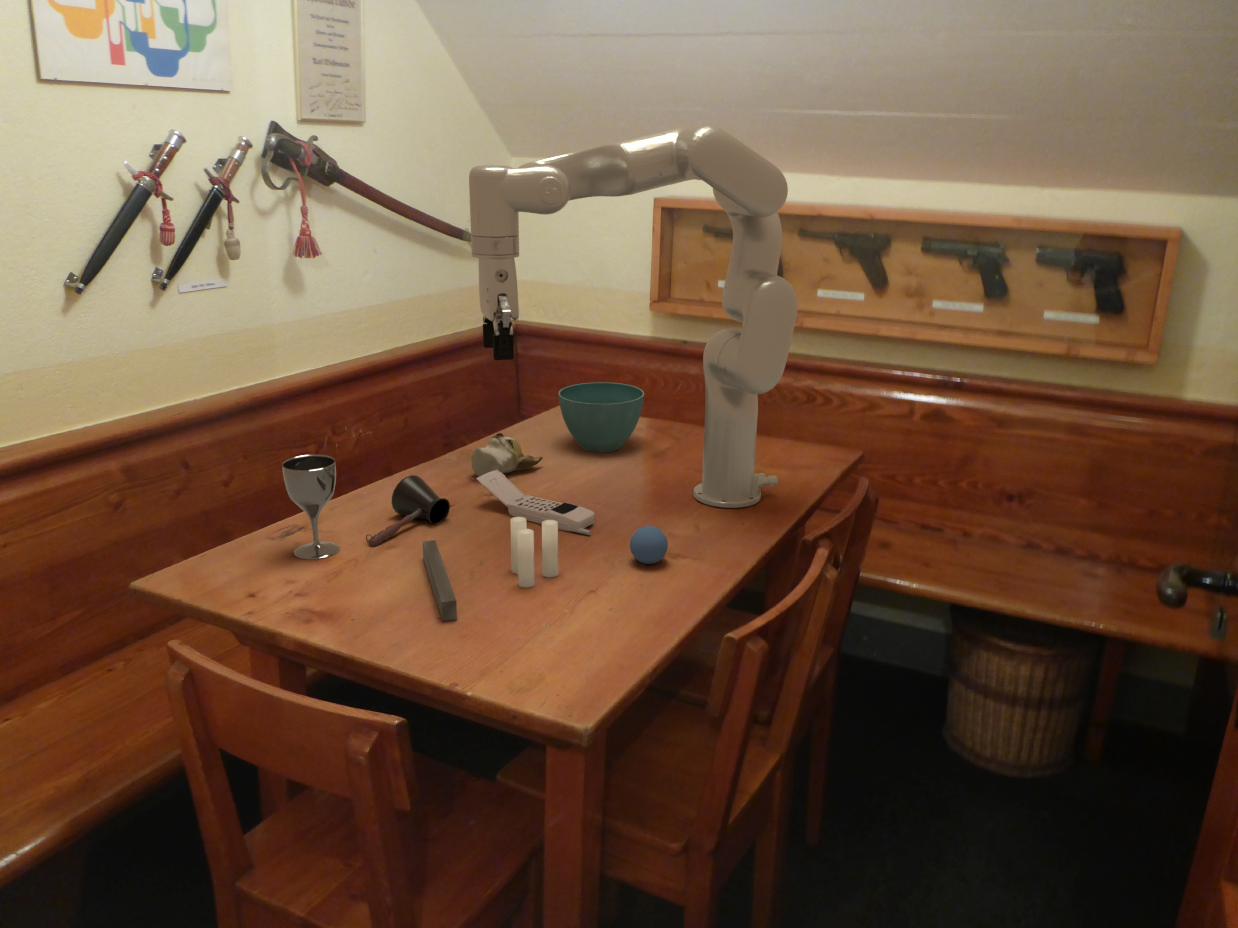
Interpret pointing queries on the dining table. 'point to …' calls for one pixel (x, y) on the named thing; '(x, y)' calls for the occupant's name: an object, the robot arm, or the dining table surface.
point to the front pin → (550, 548)
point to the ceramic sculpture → (501, 456)
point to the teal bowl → (601, 413)
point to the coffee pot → (413, 506)
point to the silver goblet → (311, 496)
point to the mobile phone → (537, 505)
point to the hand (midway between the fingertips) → (498, 353)
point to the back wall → (439, 581)
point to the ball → (648, 544)
